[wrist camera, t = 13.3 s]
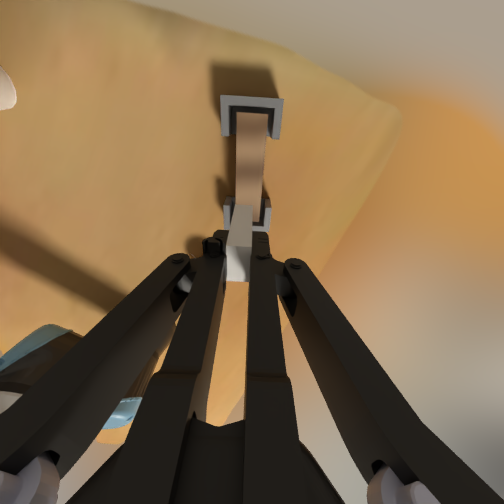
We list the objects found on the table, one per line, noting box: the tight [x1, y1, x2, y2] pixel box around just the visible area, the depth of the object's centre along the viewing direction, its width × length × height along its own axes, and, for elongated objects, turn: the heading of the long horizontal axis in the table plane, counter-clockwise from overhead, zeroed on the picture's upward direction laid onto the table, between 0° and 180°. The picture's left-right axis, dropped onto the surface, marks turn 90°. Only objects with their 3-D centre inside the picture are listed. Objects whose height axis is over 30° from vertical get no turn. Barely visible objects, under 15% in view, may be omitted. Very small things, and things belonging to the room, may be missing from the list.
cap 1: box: [220, 95, 284, 139], centre depth 28 cm, size 4×8×4 cm, turn 87°
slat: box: [236, 112, 268, 222], centre depth 32 cm, size 15×4×5 cm, turn 177°
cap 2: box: [223, 196, 272, 232], centre depth 37 cm, size 4×8×4 cm, turn 87°
